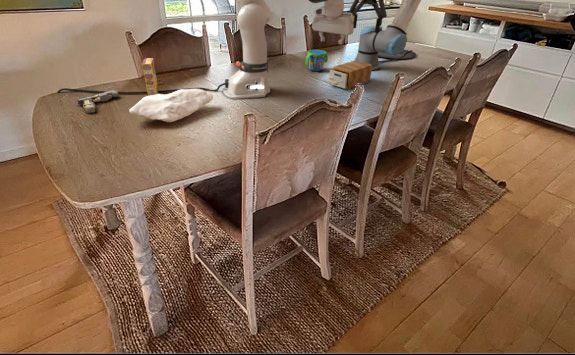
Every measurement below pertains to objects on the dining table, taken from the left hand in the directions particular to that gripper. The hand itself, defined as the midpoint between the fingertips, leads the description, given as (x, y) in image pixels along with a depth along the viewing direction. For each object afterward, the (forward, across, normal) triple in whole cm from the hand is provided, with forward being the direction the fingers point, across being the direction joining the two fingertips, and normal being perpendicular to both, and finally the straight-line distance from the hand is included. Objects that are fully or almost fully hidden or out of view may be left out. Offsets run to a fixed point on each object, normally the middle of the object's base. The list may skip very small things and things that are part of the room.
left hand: (331, 42), depth 173 cm
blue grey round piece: (+23, +2, -91) cm, 94 cm away
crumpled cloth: (+20, +34, +71) cm, 81 cm away
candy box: (+20, +58, +62) cm, 87 cm away
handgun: (+20, +66, +82) cm, 107 cm away
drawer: (+21, -5, -8) cm, 23 cm away
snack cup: (+22, +20, -23) cm, 37 cm away
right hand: (-3, -7, -22) cm, 23 cm away
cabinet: (+22, -6, -15) cm, 27 cm away
